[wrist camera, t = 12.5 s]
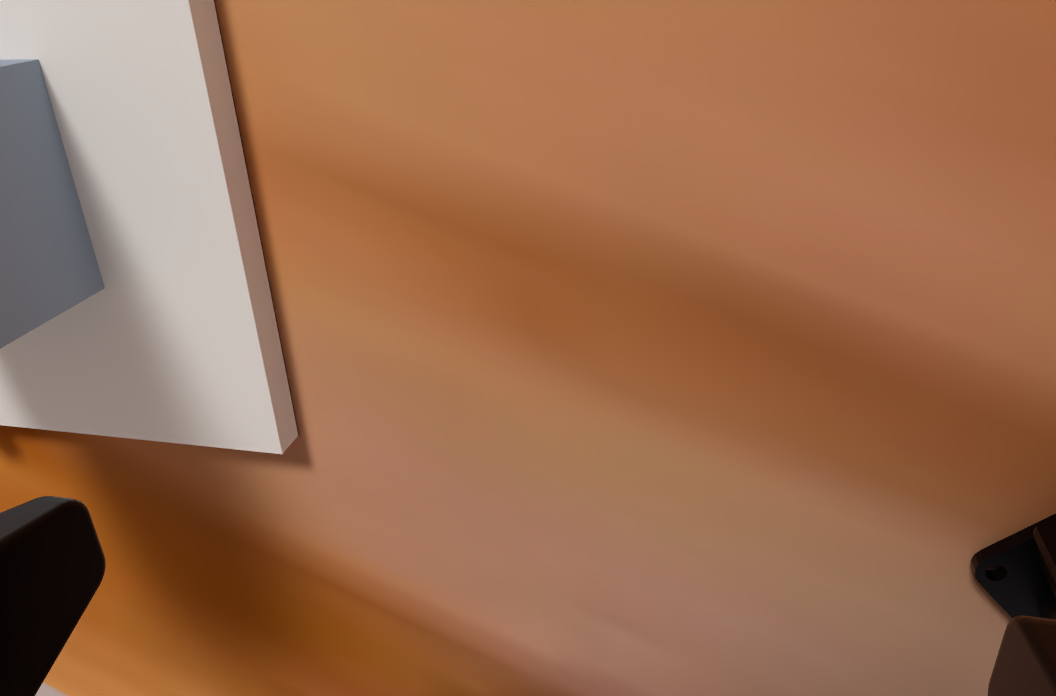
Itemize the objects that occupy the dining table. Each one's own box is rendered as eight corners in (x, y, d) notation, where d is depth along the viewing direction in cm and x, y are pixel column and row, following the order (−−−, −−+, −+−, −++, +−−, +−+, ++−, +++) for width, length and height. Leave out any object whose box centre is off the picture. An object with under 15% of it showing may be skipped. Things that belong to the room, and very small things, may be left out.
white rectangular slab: (175, -196, 18) (120, -208, 16) (298, 435, 25) (268, 470, 23) (-257, -159, 20) (-341, -167, 19) (-32, 403, 27) (-79, 432, 26)
